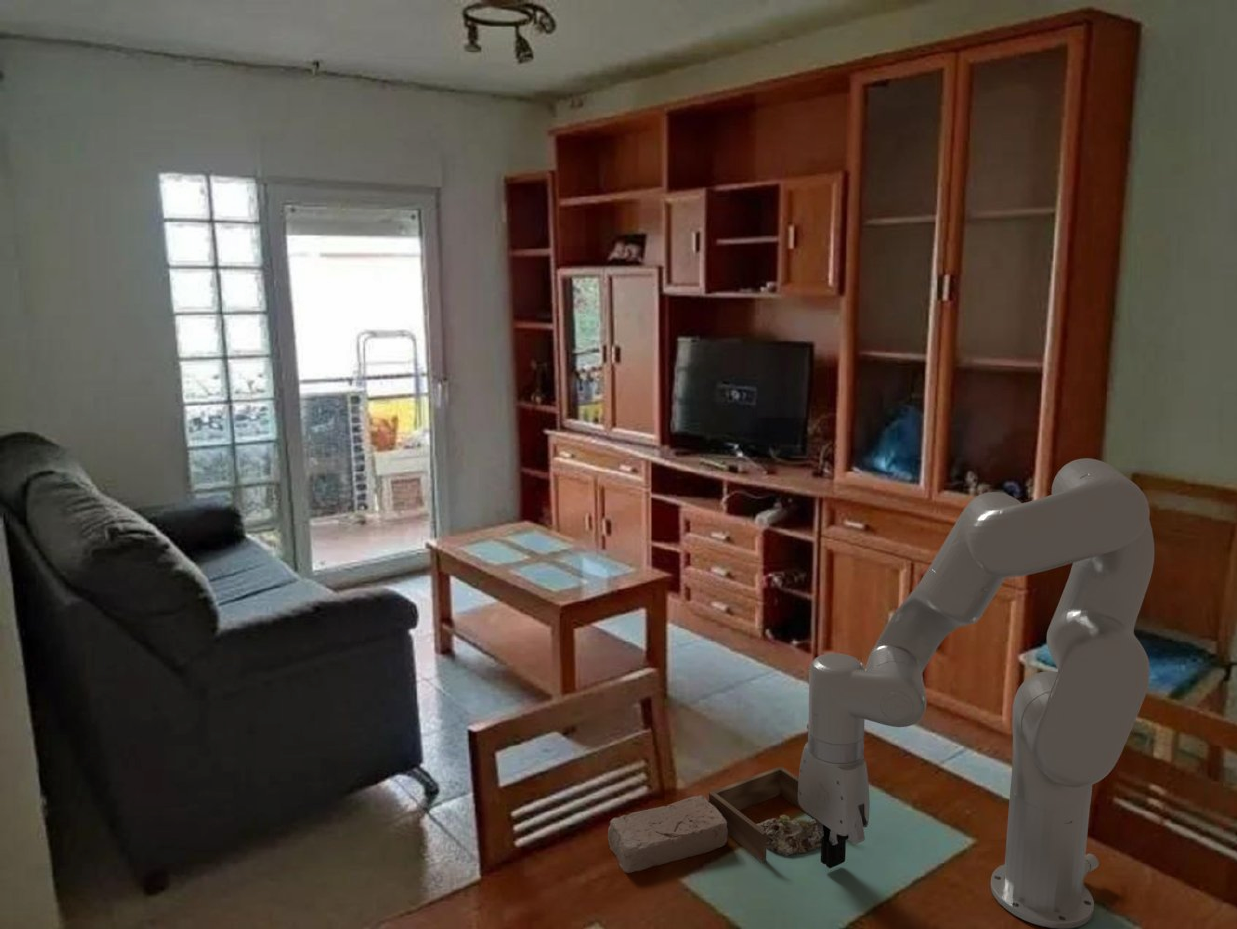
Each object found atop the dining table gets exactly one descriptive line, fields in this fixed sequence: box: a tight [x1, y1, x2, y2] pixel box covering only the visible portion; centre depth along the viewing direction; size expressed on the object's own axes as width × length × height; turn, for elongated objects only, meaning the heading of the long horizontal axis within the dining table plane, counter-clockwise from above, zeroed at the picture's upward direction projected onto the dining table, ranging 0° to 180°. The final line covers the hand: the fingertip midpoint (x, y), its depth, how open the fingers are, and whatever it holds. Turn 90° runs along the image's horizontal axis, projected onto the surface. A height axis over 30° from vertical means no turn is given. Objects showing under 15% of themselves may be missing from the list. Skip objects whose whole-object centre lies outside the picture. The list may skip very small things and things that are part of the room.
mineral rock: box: [755, 814, 822, 857], centre depth 135 cm, size 11×4×8 cm
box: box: [708, 765, 815, 863], centre depth 139 cm, size 15×13×4 cm
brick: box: [607, 795, 728, 874], centre depth 134 cm, size 17×8×5 cm, turn 112°
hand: (833, 862), depth 128 cm, fingers closed
